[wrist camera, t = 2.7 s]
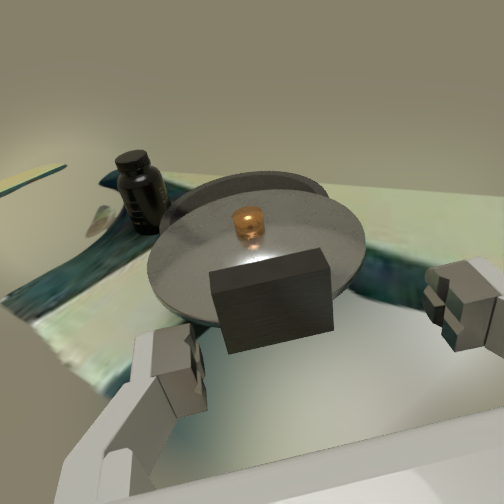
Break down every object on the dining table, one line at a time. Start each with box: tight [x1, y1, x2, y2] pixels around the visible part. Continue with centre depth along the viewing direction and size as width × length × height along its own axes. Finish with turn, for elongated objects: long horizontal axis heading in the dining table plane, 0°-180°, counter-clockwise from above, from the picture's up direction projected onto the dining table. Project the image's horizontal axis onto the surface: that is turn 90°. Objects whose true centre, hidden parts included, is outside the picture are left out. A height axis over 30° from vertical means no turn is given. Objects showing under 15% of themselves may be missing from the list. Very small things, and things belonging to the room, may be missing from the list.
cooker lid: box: [147, 189, 365, 354], centre depth 37 cm, size 23×21×6 cm
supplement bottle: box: [115, 150, 171, 234], centre depth 63 cm, size 7×7×12 cm
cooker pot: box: [159, 171, 329, 235], centre depth 50 cm, size 20×20×9 cm
